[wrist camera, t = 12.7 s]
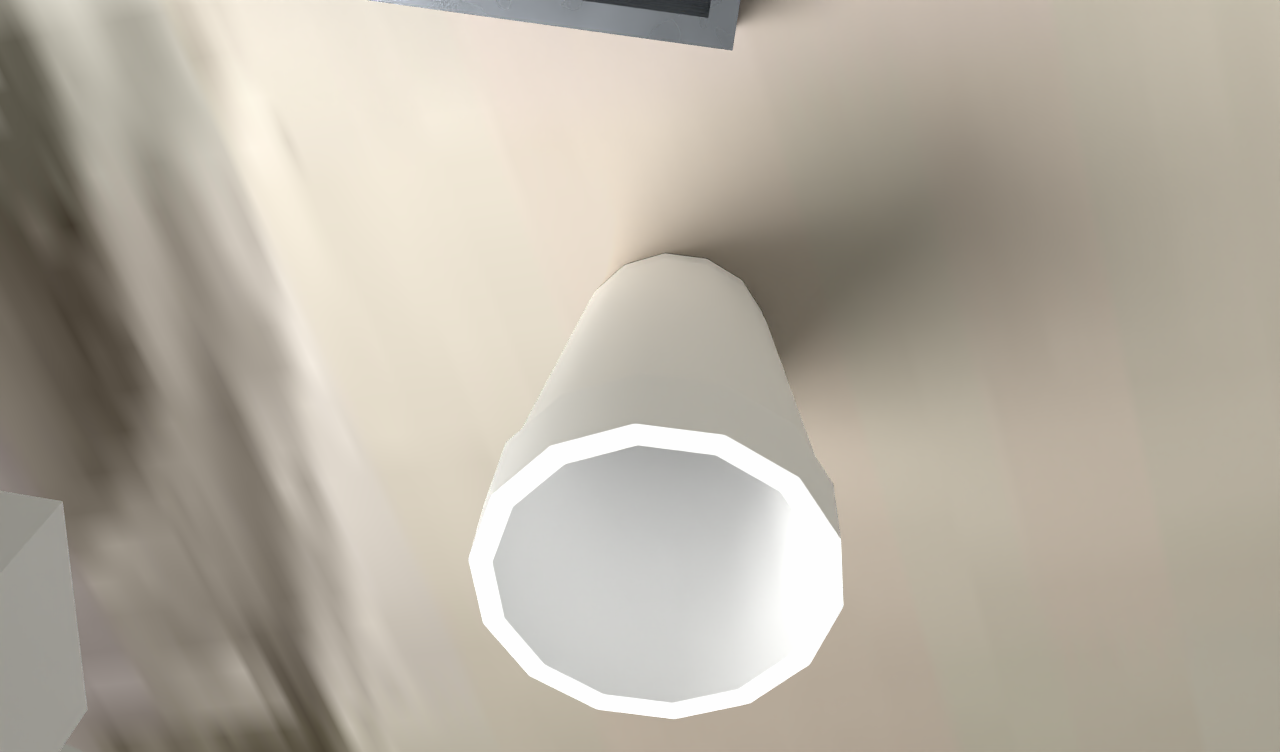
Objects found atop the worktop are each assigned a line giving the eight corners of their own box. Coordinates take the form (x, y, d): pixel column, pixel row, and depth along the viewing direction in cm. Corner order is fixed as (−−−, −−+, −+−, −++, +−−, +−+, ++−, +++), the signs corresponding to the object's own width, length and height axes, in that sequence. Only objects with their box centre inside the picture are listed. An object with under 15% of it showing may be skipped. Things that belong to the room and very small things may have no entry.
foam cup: (484, 291, 41) (396, 523, 30) (720, 158, 38) (720, 359, 27) (633, 489, 45) (604, 761, 34) (857, 381, 42) (908, 639, 31)
